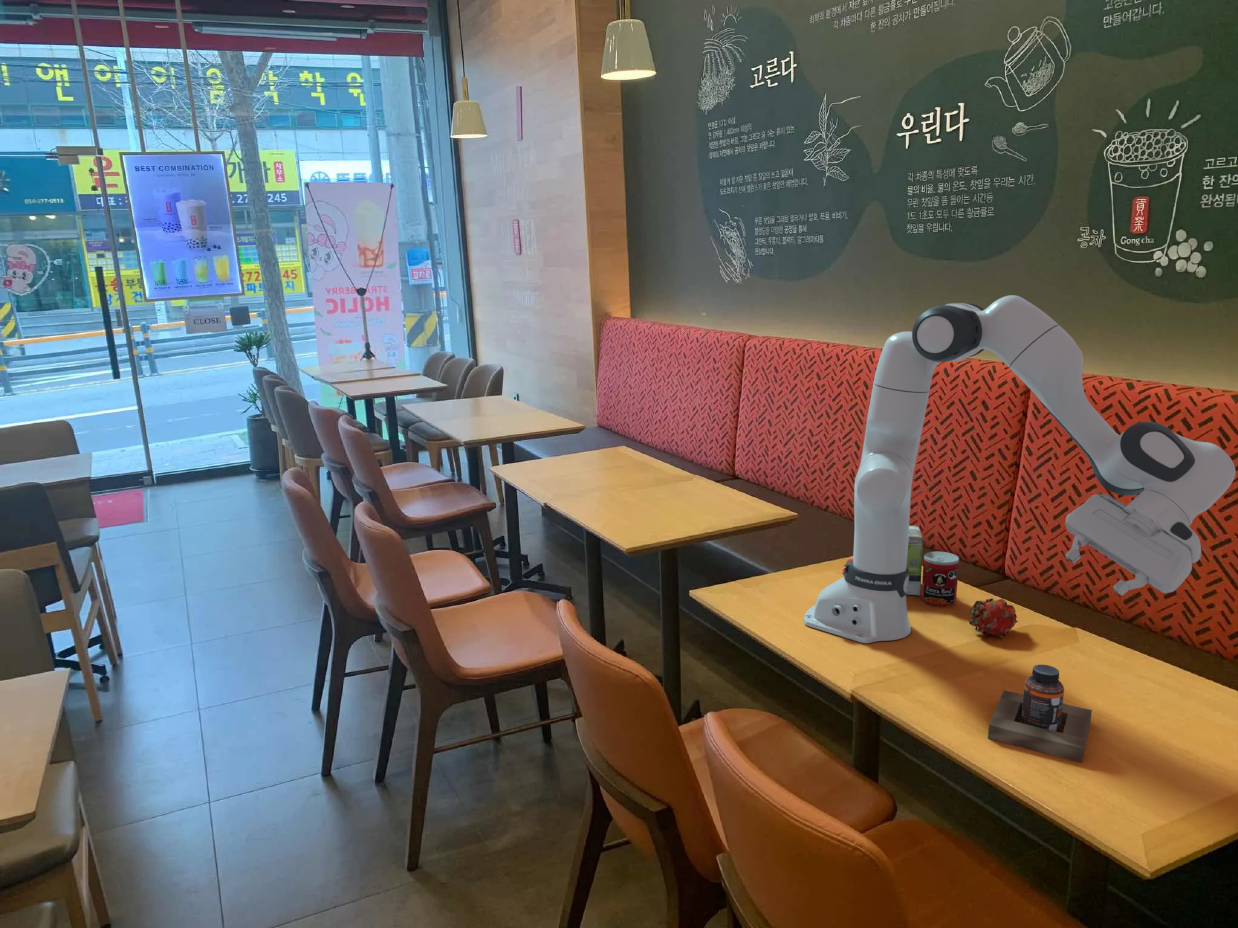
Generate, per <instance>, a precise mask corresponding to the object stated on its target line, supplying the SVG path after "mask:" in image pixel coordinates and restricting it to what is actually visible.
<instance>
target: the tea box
mask: <svg viewBox="0 0 1238 928" xmlns="http://www.w3.org/2000/svg"><path fill="white" fill-rule="evenodd" d="M923 545H924V537H923V535H922V533H921V530H920V527H919V525H909V539H908V555H907V567H908V569H909V574H908V576H909V584H908V591H907V594H906V595H912V596H921V593H922V574H923V548H924V547H923Z"/></svg>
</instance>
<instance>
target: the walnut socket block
mask: <svg viewBox="0 0 1238 928" xmlns="http://www.w3.org/2000/svg"><path fill="white" fill-rule="evenodd" d="M1023 696H1024V693H1018V692H1016V691H1015V692H1014V691H1009V690H1005V689H1003V691H1002V694H1001V695H1000V697H999V700H998V702H997V704H996V707H995V710H994V712H993V714H992V716H991V719H990V722H989V724H988V731H987V732H988V733H987V739H990V740H993V741H996V742H1001V743H1005V744H1009V745H1013V746H1016V747H1019V748H1024V749H1028V750H1032V751H1035V752H1039V753H1044V754H1047V755H1051V756H1055V757H1059V758H1062V759H1066V760H1070V761H1074V762H1078V763H1081V764H1082V763H1083V760H1084V754H1085V749H1086V746H1087V740H1088V735H1089V730H1090V726H1091V719H1092V712H1093V710H1092V709H1089V708H1085V707H1080V706H1075V705H1072V704H1071V705H1070V704H1067V703H1063V704H1062V713H1061V724H1060V727H1061V726H1062V727H1064V728H1063V731H1062V732H1060V731H1059V732H1056V731H1052V730H1047V729H1043V728H1039V727H1035V726H1031V725H1027V724H1023V723H1021V722H1018V721H1019V718H1020V717H1021V716H1022V706H1023Z"/></svg>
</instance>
